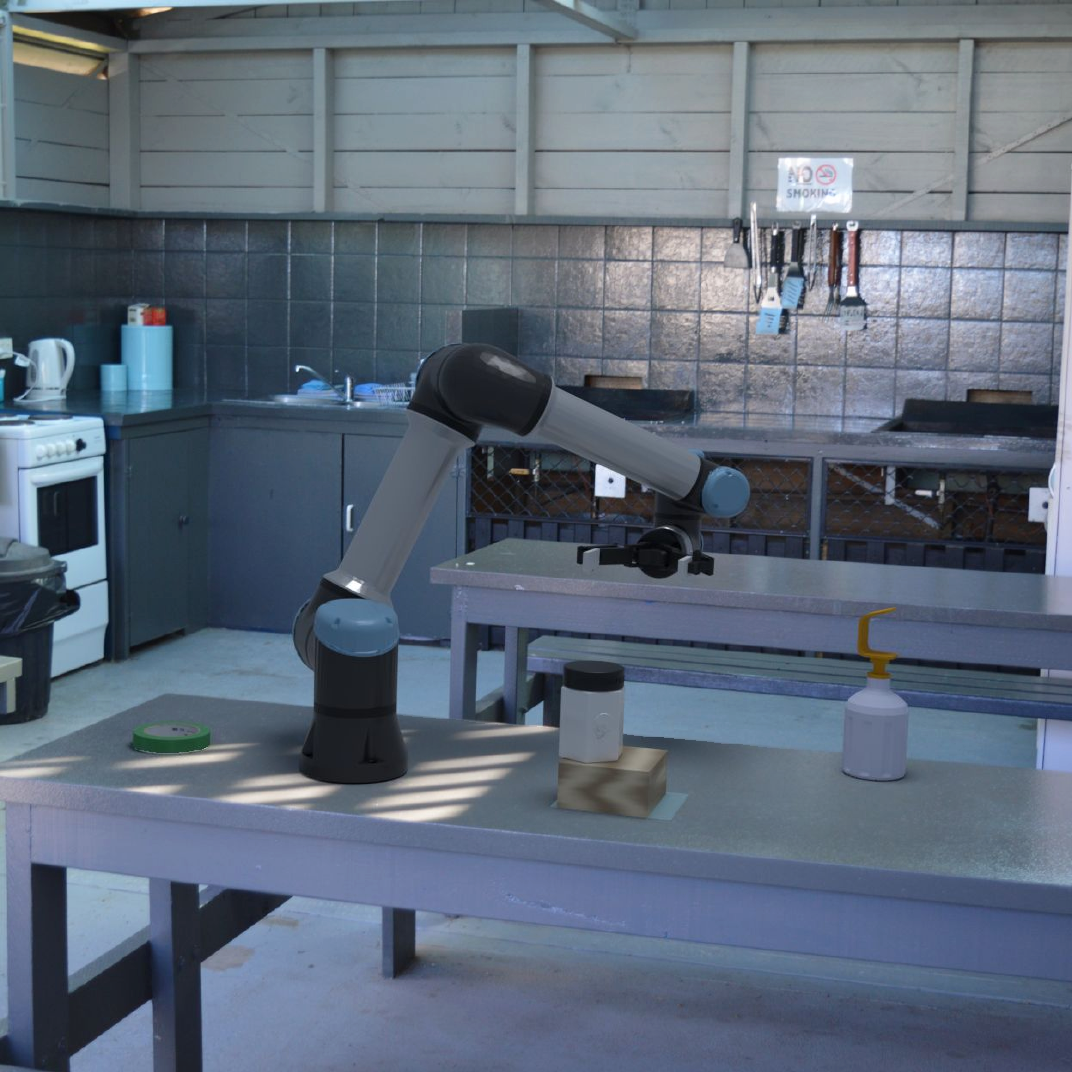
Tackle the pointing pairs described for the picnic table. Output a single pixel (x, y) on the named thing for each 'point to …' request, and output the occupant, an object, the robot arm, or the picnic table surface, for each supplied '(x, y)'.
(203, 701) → the picnic table surface
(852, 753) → the soap bottle
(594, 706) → the jar
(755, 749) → the picnic table surface
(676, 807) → the build board
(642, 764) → the base block
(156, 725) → the tape roll
